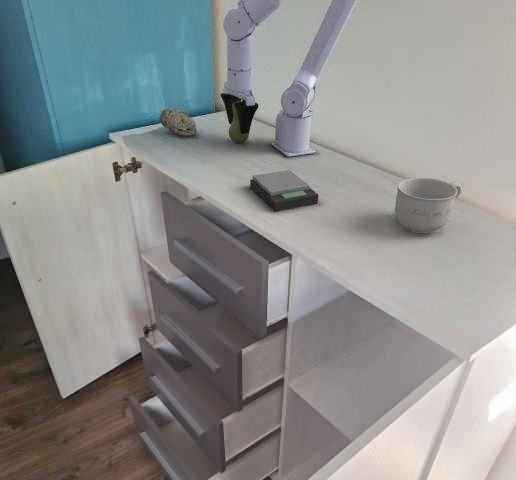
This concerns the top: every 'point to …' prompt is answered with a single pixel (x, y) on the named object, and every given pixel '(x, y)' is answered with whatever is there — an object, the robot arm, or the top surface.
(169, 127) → the rock sample
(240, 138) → the pear
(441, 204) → the teacup
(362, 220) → the top surface
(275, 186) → the scale
